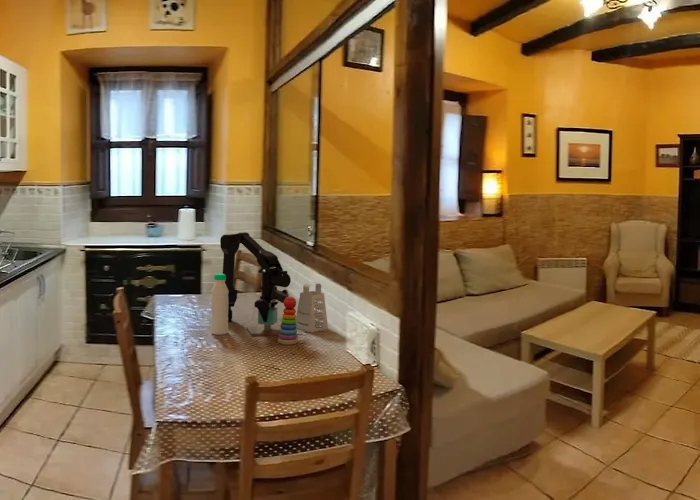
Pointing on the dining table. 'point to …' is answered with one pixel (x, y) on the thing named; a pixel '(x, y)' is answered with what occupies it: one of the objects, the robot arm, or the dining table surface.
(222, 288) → the water bottle
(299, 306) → the grater
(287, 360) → the dining table surface
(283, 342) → the stacking toy
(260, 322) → the teal drawer cube
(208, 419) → the dining table surface
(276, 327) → the keyed post base
